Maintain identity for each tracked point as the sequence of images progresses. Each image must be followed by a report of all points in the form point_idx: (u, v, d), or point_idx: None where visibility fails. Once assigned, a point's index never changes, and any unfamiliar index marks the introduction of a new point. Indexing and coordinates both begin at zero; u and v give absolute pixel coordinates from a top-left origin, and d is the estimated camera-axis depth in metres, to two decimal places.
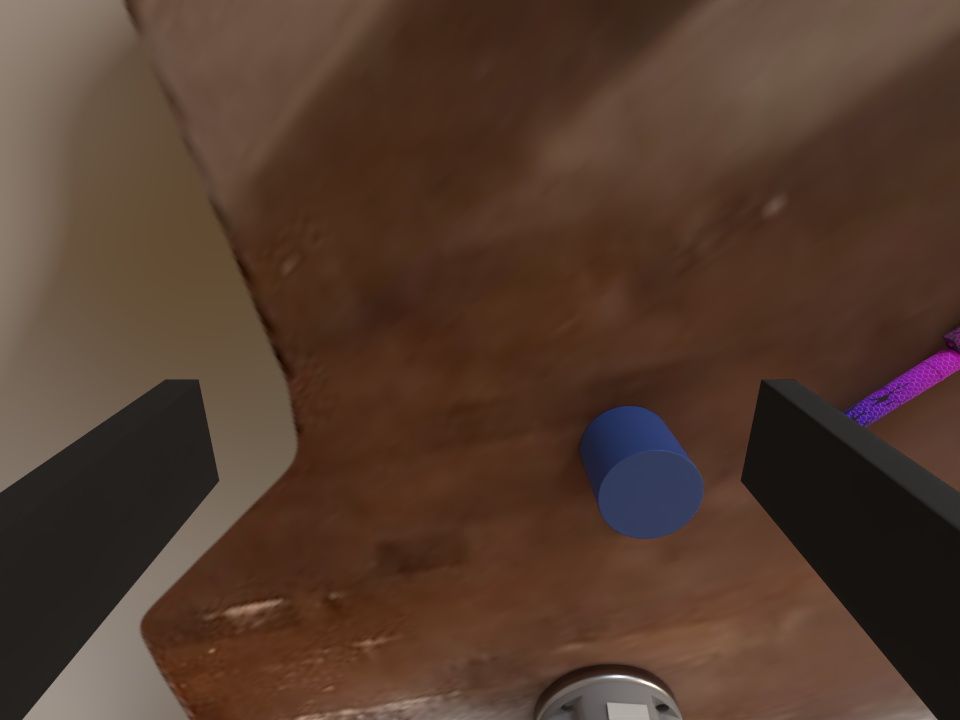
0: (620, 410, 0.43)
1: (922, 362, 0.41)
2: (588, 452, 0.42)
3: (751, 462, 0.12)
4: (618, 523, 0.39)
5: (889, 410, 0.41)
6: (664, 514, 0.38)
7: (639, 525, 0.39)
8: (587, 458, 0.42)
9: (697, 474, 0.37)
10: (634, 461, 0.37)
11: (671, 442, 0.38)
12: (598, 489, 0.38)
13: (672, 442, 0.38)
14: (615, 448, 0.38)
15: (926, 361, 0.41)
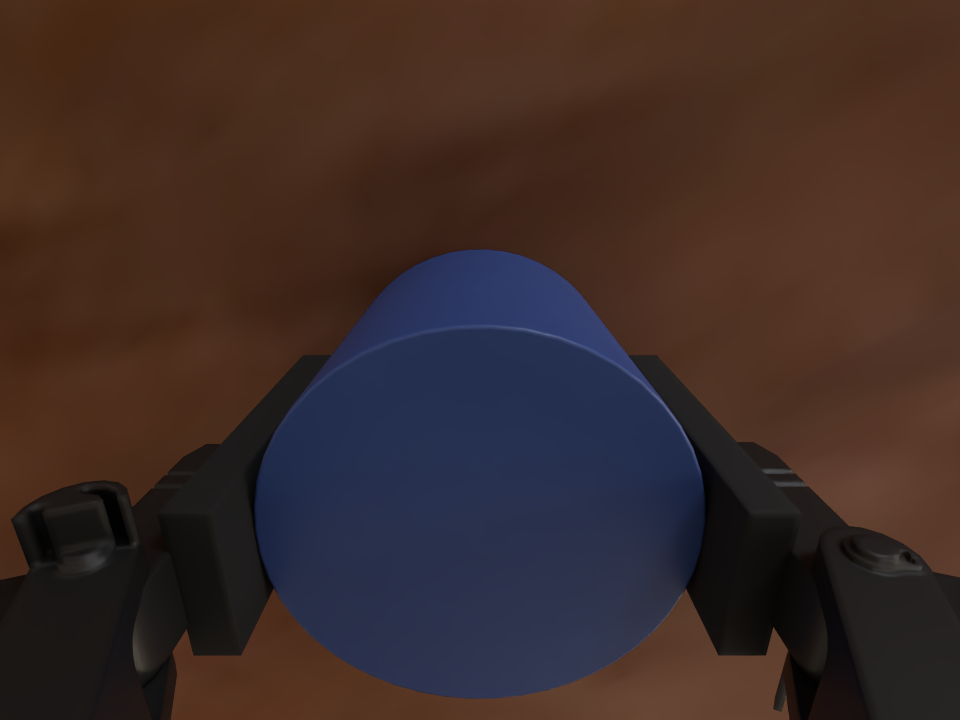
0: (449, 256, 0.14)
1: None
2: None
3: None
4: (361, 643, 0.10)
5: None
6: (541, 615, 0.09)
7: (446, 652, 0.10)
8: None
9: (681, 450, 0.08)
10: (388, 380, 0.08)
11: (580, 321, 0.09)
12: None
13: (584, 322, 0.09)
14: (350, 339, 0.09)
15: None
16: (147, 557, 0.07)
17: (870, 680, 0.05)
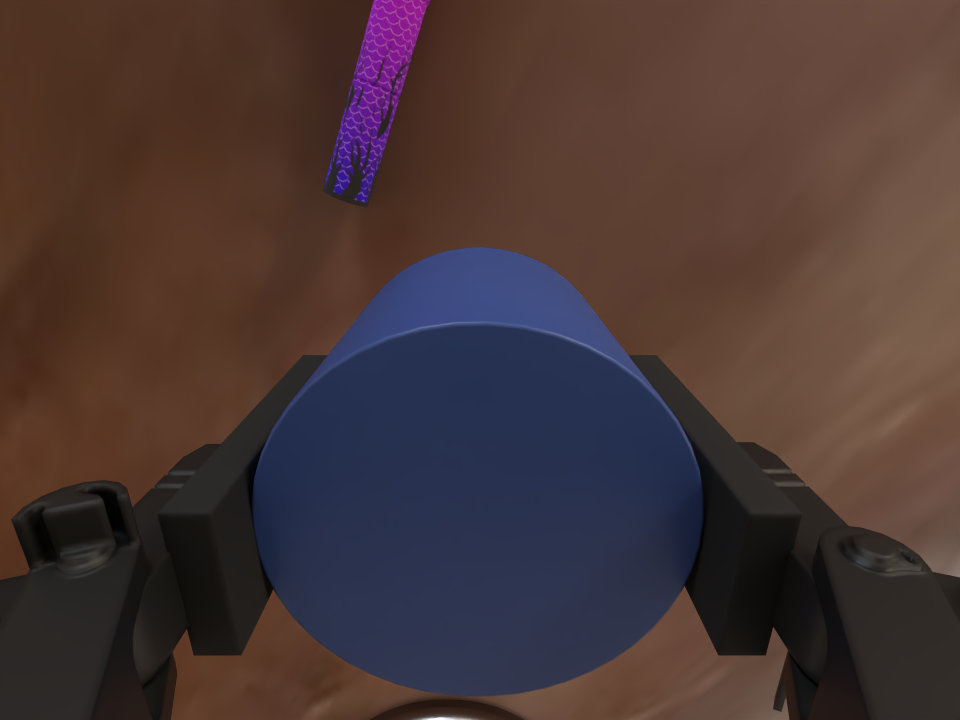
0: (448, 254, 0.14)
1: None
2: None
3: None
4: (359, 641, 0.10)
5: (373, 110, 0.20)
6: (540, 613, 0.09)
7: (444, 650, 0.10)
8: None
9: (679, 447, 0.08)
10: (386, 377, 0.08)
11: (578, 318, 0.09)
12: None
13: (582, 319, 0.09)
14: (348, 337, 0.09)
15: None
16: (147, 557, 0.07)
17: (870, 680, 0.05)
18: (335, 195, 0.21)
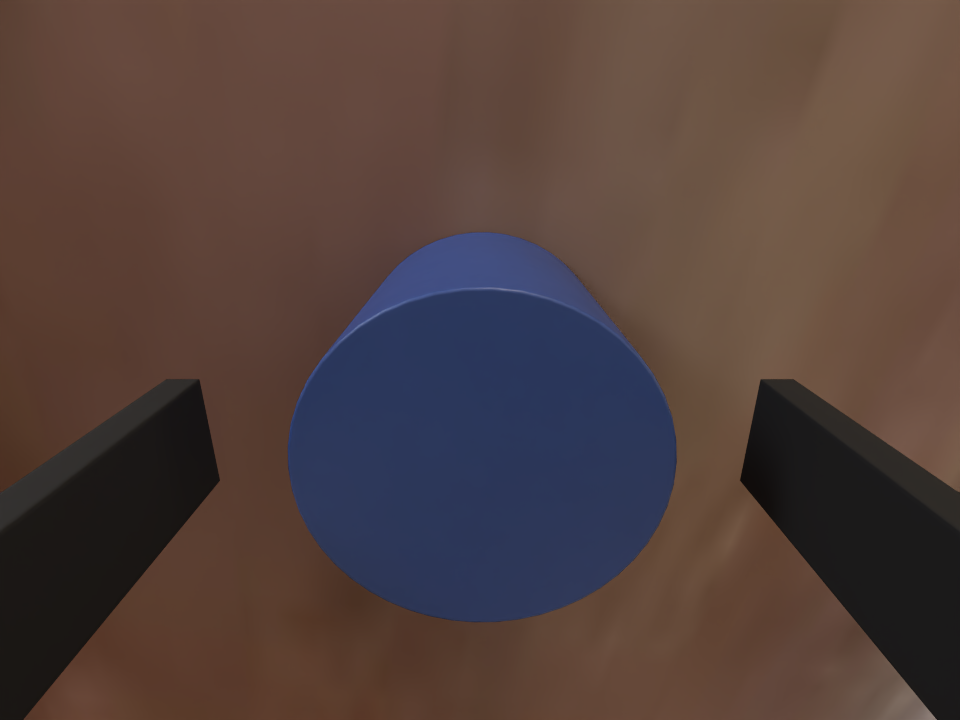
0: (454, 238, 0.15)
1: None
2: None
3: (750, 462, 0.12)
4: (378, 570, 0.11)
5: None
6: (535, 545, 0.11)
7: (452, 579, 0.11)
8: None
9: (654, 397, 0.10)
10: (405, 334, 0.09)
11: (569, 289, 0.11)
12: None
13: (573, 290, 0.11)
14: (369, 305, 0.11)
15: None
16: None
17: None
18: None
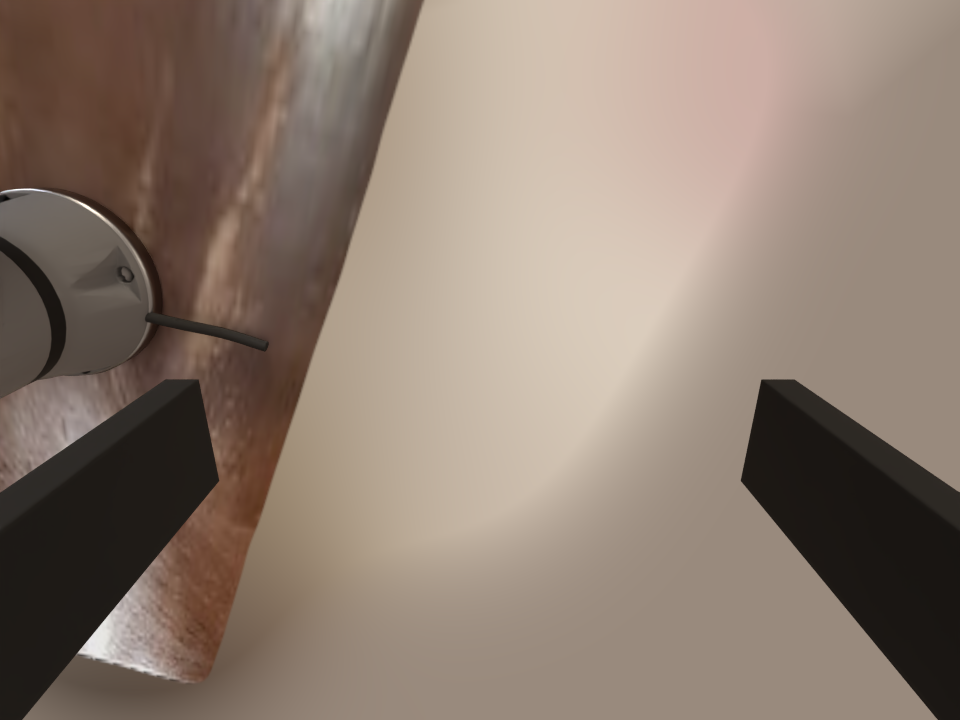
0: None
1: None
2: None
3: (750, 462, 0.12)
4: None
5: None
6: None
7: None
8: None
9: None
10: None
11: None
12: None
13: None
14: None
15: None
16: None
17: None
18: None
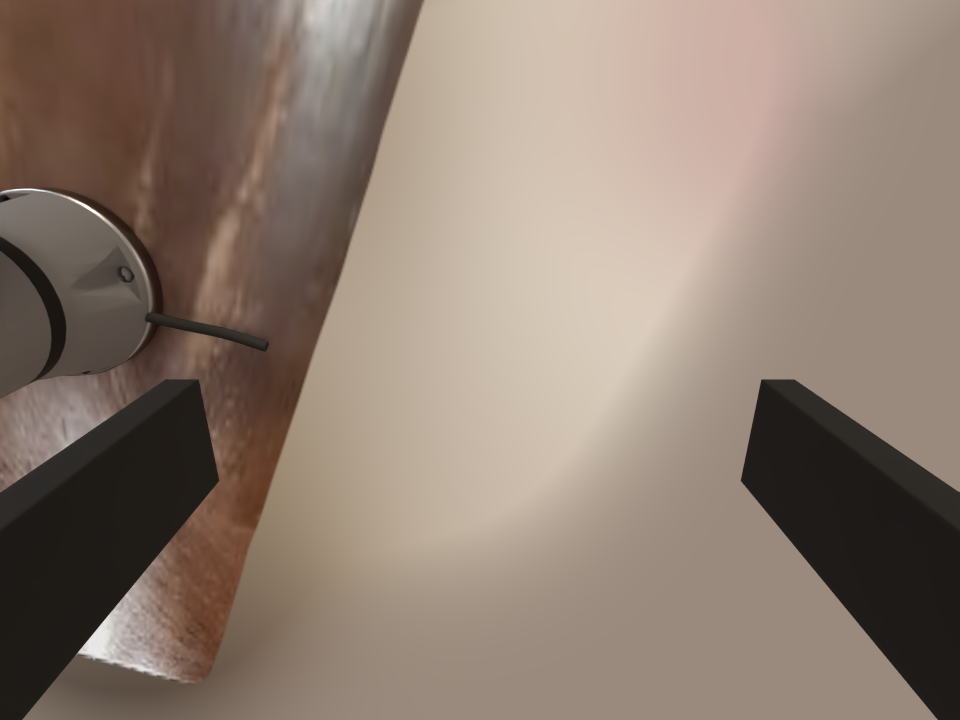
0: None
1: None
2: None
3: (750, 462, 0.12)
4: None
5: None
6: None
7: None
8: None
9: None
10: None
11: None
12: None
13: None
14: None
15: None
16: None
17: None
18: None
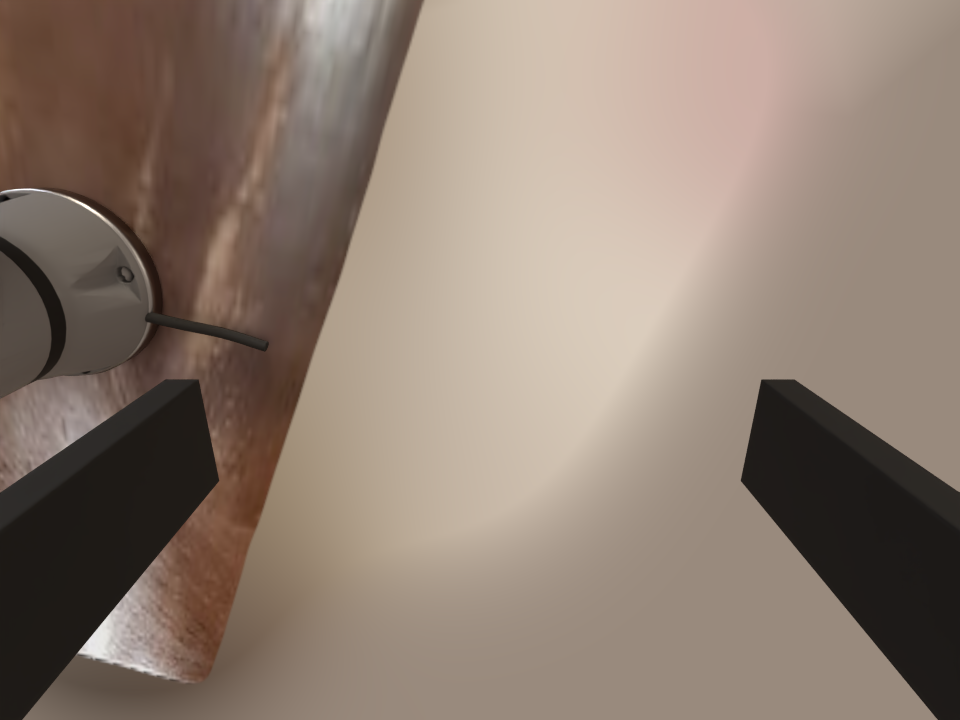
0: None
1: None
2: None
3: (750, 462, 0.12)
4: None
5: None
6: None
7: None
8: None
9: None
10: None
11: None
12: None
13: None
14: None
15: None
16: None
17: None
18: None
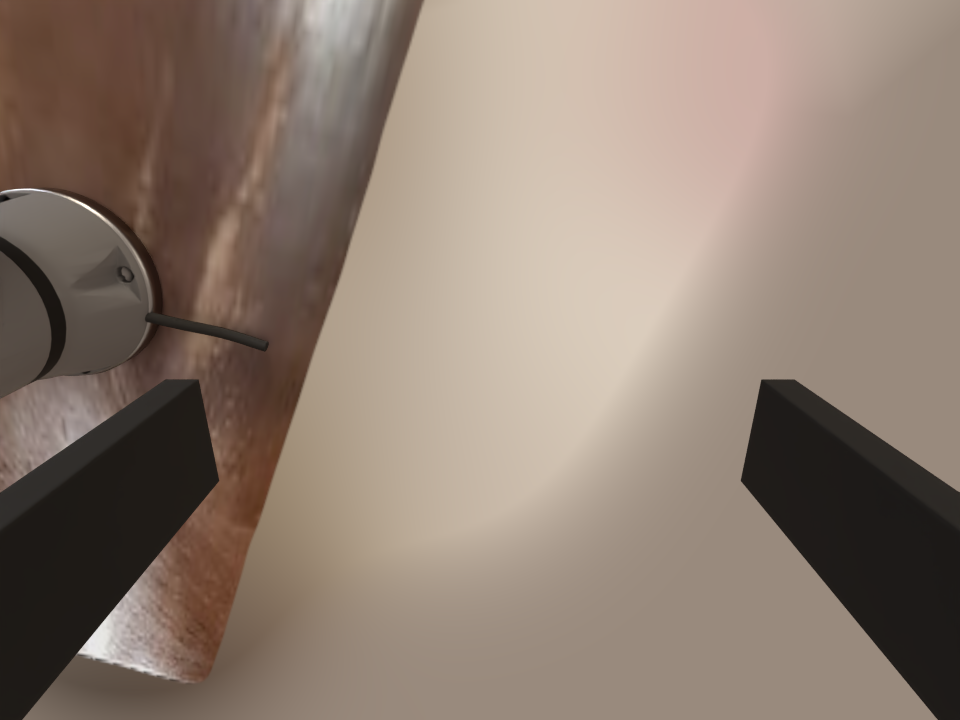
0: None
1: None
2: None
3: (750, 462, 0.12)
4: None
5: None
6: None
7: None
8: None
9: None
10: None
11: None
12: None
13: None
14: None
15: None
16: None
17: None
18: None
